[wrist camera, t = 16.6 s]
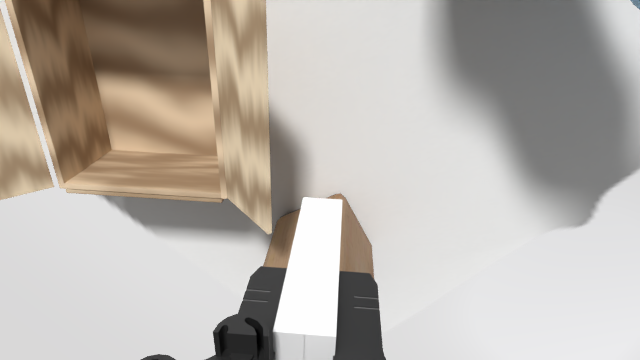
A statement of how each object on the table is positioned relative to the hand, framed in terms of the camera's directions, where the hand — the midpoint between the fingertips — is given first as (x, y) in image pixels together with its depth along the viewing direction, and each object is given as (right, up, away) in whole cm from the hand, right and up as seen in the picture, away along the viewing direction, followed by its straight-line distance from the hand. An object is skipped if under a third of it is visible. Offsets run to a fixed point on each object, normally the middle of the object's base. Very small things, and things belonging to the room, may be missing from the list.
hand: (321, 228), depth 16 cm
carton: (-18, +14, +31) cm, 38 cm away
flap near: (-9, +9, +21) cm, 25 cm away
